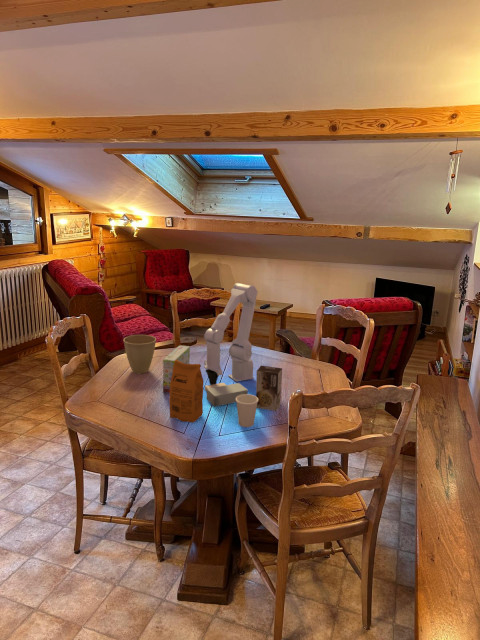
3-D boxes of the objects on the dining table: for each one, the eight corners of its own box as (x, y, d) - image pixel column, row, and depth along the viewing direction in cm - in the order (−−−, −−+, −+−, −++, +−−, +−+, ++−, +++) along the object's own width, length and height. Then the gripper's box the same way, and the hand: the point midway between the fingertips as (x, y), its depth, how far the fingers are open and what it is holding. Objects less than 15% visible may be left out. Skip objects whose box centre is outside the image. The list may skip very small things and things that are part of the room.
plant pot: (133, 379, 210) (132, 345, 206) (119, 369, 221) (118, 337, 217) (162, 372, 219) (161, 340, 215) (147, 363, 230) (146, 332, 226)
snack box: (175, 394, 196) (174, 360, 192) (162, 392, 197) (161, 359, 193) (190, 376, 216) (190, 345, 212) (178, 375, 217) (178, 344, 213)
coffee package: (179, 407, 183) (179, 355, 177) (206, 414, 178) (207, 360, 172) (164, 417, 174) (164, 362, 169) (192, 425, 169) (192, 369, 163)
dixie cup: (259, 428, 169) (261, 402, 166) (237, 429, 167) (238, 404, 164) (254, 417, 176) (255, 393, 174) (233, 419, 175) (233, 394, 172)
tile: (223, 387, 205) (223, 382, 204) (236, 398, 194) (237, 393, 193) (204, 390, 201) (204, 385, 200) (217, 402, 190) (217, 397, 189)
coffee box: (280, 405, 188) (283, 367, 184) (276, 411, 182) (278, 373, 178) (259, 401, 191) (261, 364, 186) (254, 407, 185) (256, 370, 181)
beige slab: (238, 392, 199) (238, 383, 197) (247, 399, 192) (247, 389, 191) (206, 398, 192) (206, 388, 190) (214, 406, 185) (214, 396, 184)
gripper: (198, 352, 204) (198, 380, 208) (211, 362, 192) (211, 392, 195) (212, 350, 207) (212, 378, 211) (227, 360, 195) (226, 390, 198)
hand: (212, 385), depth 203 cm, fingers closed
